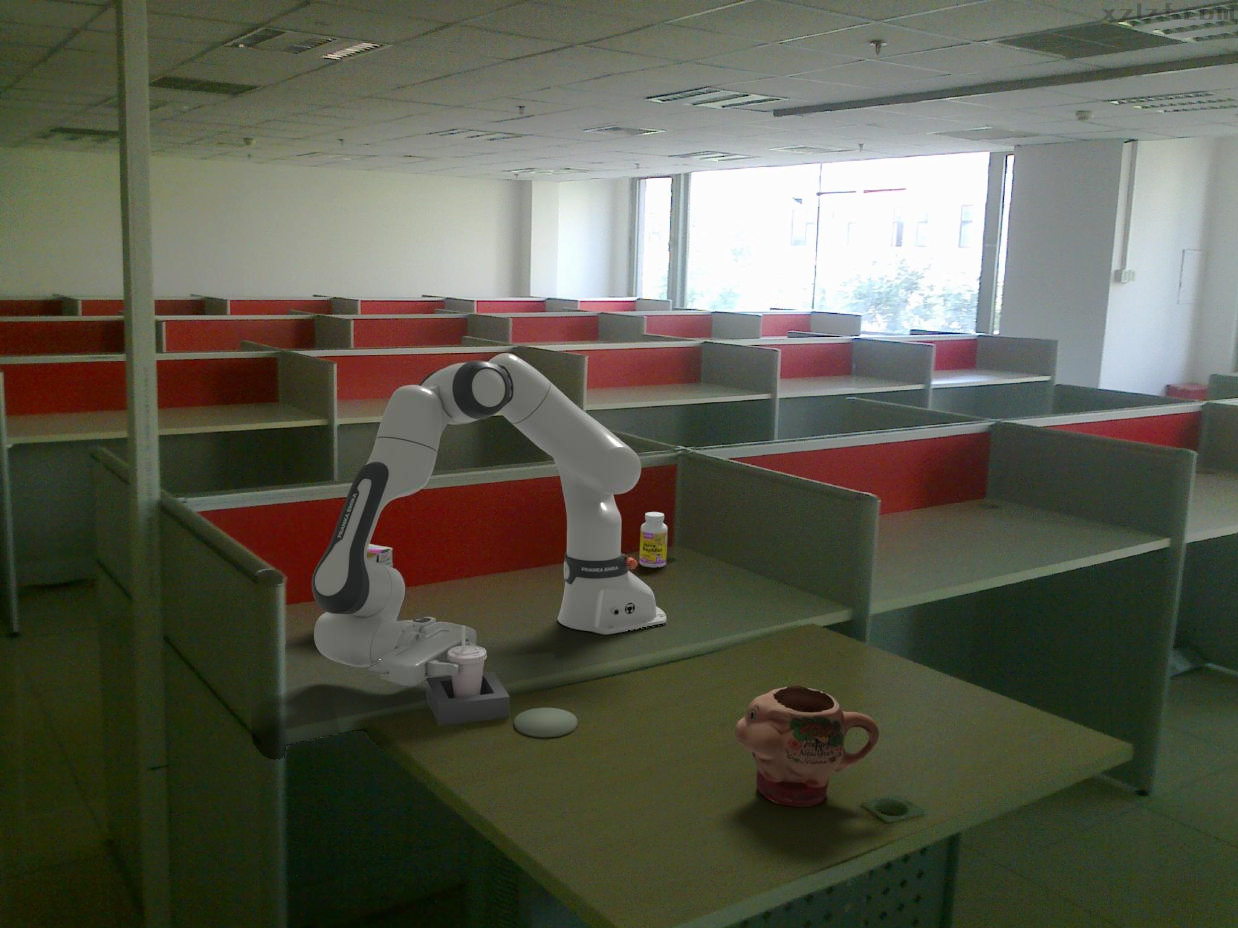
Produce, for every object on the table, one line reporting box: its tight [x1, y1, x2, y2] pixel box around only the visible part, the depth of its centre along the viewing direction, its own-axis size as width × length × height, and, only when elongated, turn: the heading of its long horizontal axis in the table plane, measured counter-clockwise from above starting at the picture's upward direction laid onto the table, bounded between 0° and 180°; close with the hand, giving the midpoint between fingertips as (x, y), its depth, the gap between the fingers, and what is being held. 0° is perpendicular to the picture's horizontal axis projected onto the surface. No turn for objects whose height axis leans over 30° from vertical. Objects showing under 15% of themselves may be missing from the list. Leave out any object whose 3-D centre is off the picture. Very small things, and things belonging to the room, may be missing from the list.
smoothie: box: [447, 625, 488, 698], centre depth 174 cm, size 6×6×14 cm
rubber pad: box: [513, 707, 578, 739], centre depth 170 cm, size 10×10×1 cm
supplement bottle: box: [638, 511, 668, 569], centre depth 262 cm, size 7×7×13 cm
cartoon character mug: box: [734, 685, 880, 808], centre depth 149 cm, size 20×12×14 cm, turn 94°
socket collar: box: [425, 670, 511, 727], centre depth 175 cm, size 12×12×4 cm
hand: (471, 661), depth 174 cm, fingers closed on smoothie, 6 cm apart
